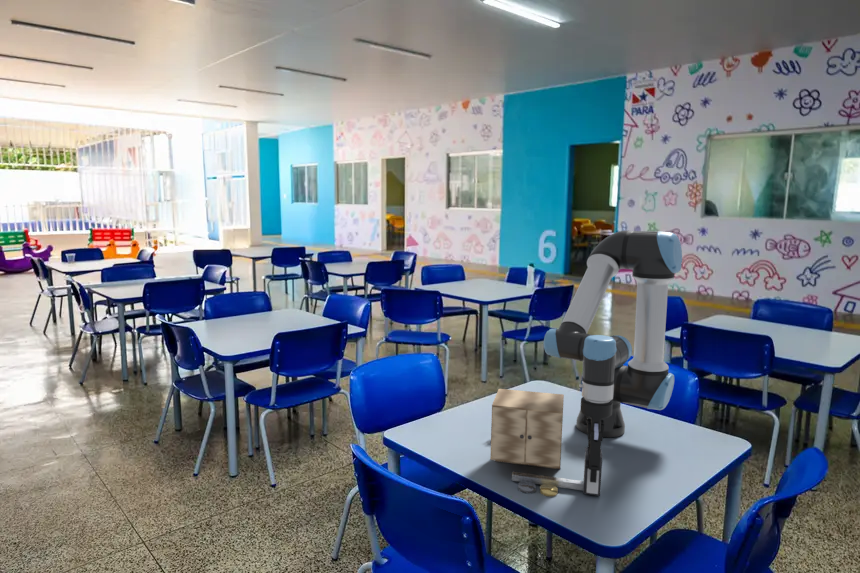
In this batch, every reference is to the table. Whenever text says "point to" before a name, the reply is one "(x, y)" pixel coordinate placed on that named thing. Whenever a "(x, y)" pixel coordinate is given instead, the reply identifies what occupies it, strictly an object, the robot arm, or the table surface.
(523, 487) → the steel disc
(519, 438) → the cabinet
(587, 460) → the grey mallet
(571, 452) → the table surface
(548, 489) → the brass disc
